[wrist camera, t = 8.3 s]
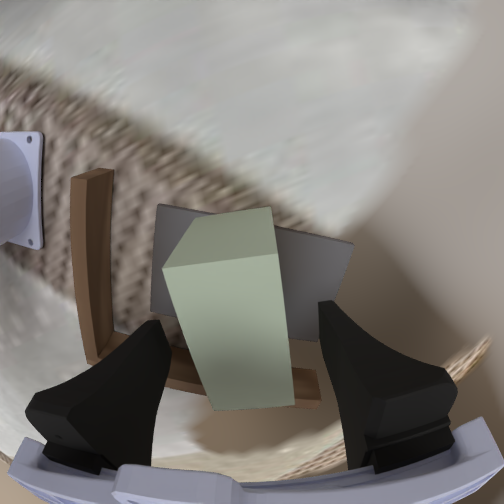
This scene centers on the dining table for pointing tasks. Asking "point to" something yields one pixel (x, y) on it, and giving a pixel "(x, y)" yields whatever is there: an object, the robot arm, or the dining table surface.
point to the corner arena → (165, 240)
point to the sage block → (233, 309)
